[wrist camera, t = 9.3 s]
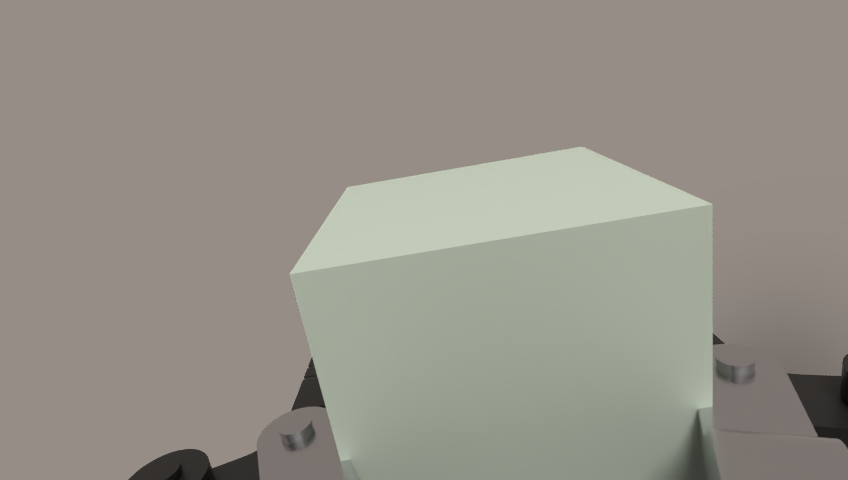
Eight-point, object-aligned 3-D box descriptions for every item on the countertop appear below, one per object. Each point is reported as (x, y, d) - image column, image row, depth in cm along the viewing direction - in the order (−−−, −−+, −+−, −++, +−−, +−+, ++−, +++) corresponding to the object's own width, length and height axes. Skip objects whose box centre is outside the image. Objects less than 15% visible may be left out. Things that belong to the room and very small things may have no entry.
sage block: (429, 787, 9) (289, 274, 6) (426, 543, 14) (346, 187, 11) (712, 754, 9) (712, 204, 6) (611, 517, 14) (582, 146, 11)
